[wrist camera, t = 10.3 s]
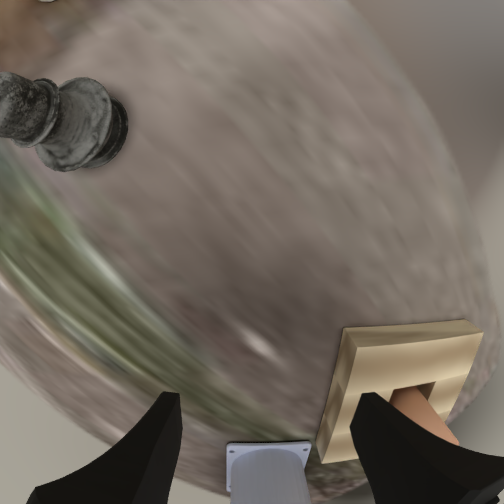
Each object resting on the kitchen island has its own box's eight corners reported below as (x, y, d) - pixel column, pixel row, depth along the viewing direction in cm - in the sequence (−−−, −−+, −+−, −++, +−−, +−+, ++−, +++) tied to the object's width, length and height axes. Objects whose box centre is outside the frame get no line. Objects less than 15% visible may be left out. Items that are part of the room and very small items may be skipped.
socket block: (423, 422, 25) (435, 438, 22) (315, 441, 24) (321, 463, 21) (464, 319, 22) (483, 332, 19) (343, 327, 21) (357, 347, 18)
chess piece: (127, 172, 18) (2, 168, 6) (57, 173, 18) (-72, 180, 6) (137, 88, 17) (39, 5, 5) (67, 96, 16) (-48, 51, 5)
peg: (403, 394, 23) (448, 461, 14) (376, 400, 23) (418, 473, 14) (411, 370, 23) (465, 435, 14) (384, 374, 23) (434, 448, 13)
